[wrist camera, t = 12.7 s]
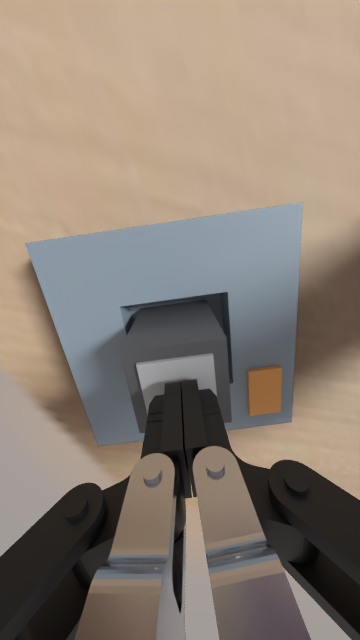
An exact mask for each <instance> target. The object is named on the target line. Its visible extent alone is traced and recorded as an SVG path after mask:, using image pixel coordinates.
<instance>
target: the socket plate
mask: <svg viewBox="0 0 360 640" xmlns="http://www.w3.org/2000/svg"><path fill="white" fill-rule="evenodd" d="M302 210H303V202H301V203H294V204H288V205H281V206H274V207H267V208H261V209H254V210H247V211H240V212H233V213H227V214H220V215H213V216H206V217H200V218H193V219H186V220H179V221H173V222H166V223H159V224H152V225H146V226H139V227H132V228H125V229H119V230H112V231H105V232H98V233H92V234H85V235H78V236H71V237H64V238H58V239H51V240H44V241H37V242H31V243H25V244H26V247H27V250H28V253H29V256H30V258H31V261H32V264H33V267H34V269H35V272H36V275H37V278H38V281H39V283H40V286H41V289H42V292H43V294H44V297H45V300H46V303H47V306H48V308H49V311H50V314H51V317H52V319H53V322H54V325H55V328H56V331H57V333H58V336H59V339H60V342H61V344H62V347H63V350H64V353H65V356H66V358H67V361H68V364H69V367H70V369H71V372H72V375H73V378H74V381H75V383H76V386H77V389H78V392H79V394H80V397H81V400H82V403H83V405H84V408H85V411H86V414H87V417H88V419H89V422H90V425H91V428H92V430H93V433H94V436H95V439H96V442H97V444H98V446H104V445H112V444H120V443H128V442H136V441H144V435H145V433H140V432H139V428H138V424H137V421H136V417H135V413H134V409H133V405H132V401H131V397H130V393H129V389H128V386H127V382H126V378H125V374H124V370H123V366H122V362H121V358H120V354H119V350H120V348H121V347H122V345H123V343H124V341H125V339H126V337H127V335H128V333H129V331H130V329H131V327H132V325H133V323H134V321H135V319H136V317H137V315H138V313H139V311H140V309H141V308H147V307H154V306H162V305H169V304H177V303H184V302H191V301H199V300H206V301H207V303H208V305H209V306H210V308H211V310H212V312H213V314H214V316H215V317H216V319H217V321H218V323H219V325H220V327H221V328H222V330H223V332H224V334H225V336H226V338H227V351H228V367H229V383H230V399H231V415H232V422H230V423H224V425H225V429H226V430H233V429H241V428H249V427H257V426H265V425H273V424H281V423H289V422H292V405H293V385H294V366H295V346H296V327H297V308H298V288H299V269H300V249H301V230H302Z"/></svg>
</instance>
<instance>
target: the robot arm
mask: <svg viewBox="0 0 360 640" xmlns="http://www.w3.org/2000/svg"><path fill="white" fill-rule="evenodd" d="M190 479H191V480H190ZM191 485H192V491H193V497H197V500H198V506H199V512H200V519H201V525H202V531H203V538H204V544H205V550H206V557H207V563H208V569H209V576H210V583H211V589H212V595H213V602H214V608H215V614H216V621H217V627H218V634H219V640H311V638H310V636H309V633H308V631H307V628H306V626H305V623H304V621H303V618H302V615H301V613H300V610H299V608H298V605H297V603H296V600H295V597H294V595H293V592H292V590H291V587H290V585H289V582H288V579H287V577H286V574H285V572H284V569H283V567H284V568H285V570H286V571H287V572H288V573H289V574H290V575H291V576H292V577H293V578H294V579H295V580H296V581H297V582H298V583H299V584H300V585H301V587H302V588H303V589H304V590H305V591H306V592H307V593H308V594H309V595H310V596H311V597H312V598H313V599H314V600H315V601H316V602H317V603H318V604H319V605H320V607H321V608H322V609H323V610H324V611H325V612H326V613H327V614H328V615H329V616H330V617H331V618H332V619H333V620H334V621H335V622H336V623H337V625H339V627H340V628H341V629H342V630H343V631H344V632H345V633H346V634H347V635H348V636H349V637H350V638H351V639H352V640H360V500H358V499H357V498H355V497H354V496H352V495H351V494H349V493H348V492H346V491H344V490H343V489H341V488H340V487H338V486H337V485H335V484H334V483H332V482H331V481H329V480H327V479H326V478H324V477H323V476H321V475H320V474H318V473H317V472H315V471H314V470H312V469H310V468H309V467H307V466H306V465H304V464H302V463H299V462H297V461H293V460H281V461H278V462H276V463H275V464H274V465H273V466H272V467H271V469H267V468H262V467H257V466H253V465H250V464H247V463H245V462H244V461H242V460H241V459H239V458H238V457H237V456H236V455H235V454H234V452H233V451H232V449H231V446H230V443H229V440H228V436H227V432H226V429H225V425H224V422H223V418H222V414H221V411H220V407H219V403H218V400H217V396H216V395H215V394H214V393H213V391H212V390H211V389H210V388H209V389H202V390H199V389H198V383H197V379H191V380H184V381H182V386H181V381H176V382H169V383H165V391H164V395H156V396H154V398H153V399H152V401H151V402H150V404H149V409H148V416H147V424H146V429H145V435H144V442H143V448H142V455H141V459H140V460H139V461H138V462H137V464H136V465H135V466H134V468H133V470H132V472H131V475H130V476H129V477H128V478H126V479H125V480H123V481H121V482H120V483H117V484H115V485H113V486H111V487H109V488H107V489H105V490H101V488H100V487H99V486H98V485H96V484H94V483H85V484H81V485H78V486H76V487H75V488H73V489H72V490H70V491H69V492H68V493H66V494H65V495H64V496H63V497H62V498H61V499H60V500H59V501H58V502H57V503H56V504H55V505H54V506H53V507H52V508H51V509H50V510H49V511H48V512H47V513H46V514H44V515H43V517H42V518H40V519H39V520H38V521H37V522H36V523H35V524H34V525H33V526H32V527H31V528H30V529H29V530H28V531H27V532H26V533H25V534H24V535H23V536H22V537H21V538H20V539H19V540H18V541H16V542H15V543H14V544H13V545H12V546H11V547H10V548H9V549H8V550H7V551H6V552H5V553H4V554H3V555H2V556H1V557H0V640H186V633H185V612H184V611H185V558H186V557H185V556H186V555H185V554H186V552H185V551H186V506H185V498H192V494H191ZM282 566H283V567H282Z"/></svg>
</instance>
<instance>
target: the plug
mask: <svg viewBox="0 0 360 640" xmlns="http://www.w3.org/2000/svg"><path fill="white" fill-rule="evenodd" d="M119 354H120V358H121V362H122V366H123V370H124V374H125V378H126V382H127V386H128V389H129V393H130V397H131V401H132V405H133V409H134V413H135V417H136V421H137V424H138V428H139V432H140V433H145V429H146V424H147V416H148V409H149V404H150V402H151V401H152V399H153V398H154V396H156V395H164V391H165V383H169V382H176V381H181V386H182V381H184V380H191V379H197V383H198V389H199V390H202V389H209V388H210V389H211V390H212V391H213V393H214V394H215V395H216V396H217V400H218V403H219V407H220V411H221V414H222V418H223V422H224V423H230V422H232V415H231V399H230V383H229V367H228V351H227V338H226V336H225V334H224V332H223V330H222V328H221V327H220V325H219V323H218V321H217V319H216V317H215V316H214V314H213V312H212V310H211V308H210V306H209V305H208V303H207V301H206V300H199V301H191V302H184V303H177V304H169V305H162V306H154V307H147V308H141V309H140V311H139V313H138V315H137V317H136V319H135V321H134V323H133V325H132V327H131V329H130V331H129V333H128V335H127V337H126V339H125V341H124V343H123V345H122V347H121V348H120V350H119Z"/></svg>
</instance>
